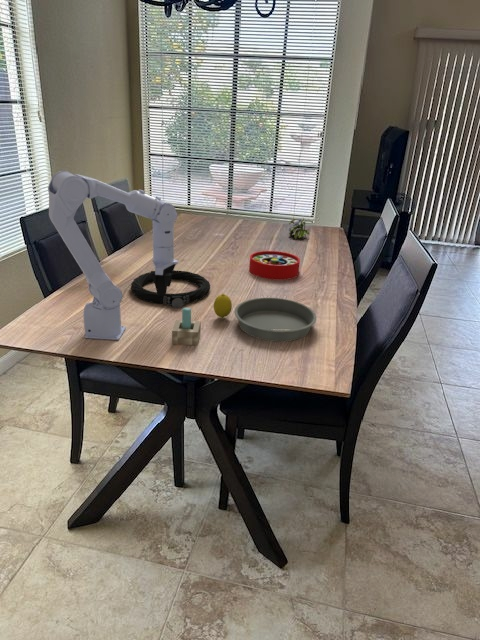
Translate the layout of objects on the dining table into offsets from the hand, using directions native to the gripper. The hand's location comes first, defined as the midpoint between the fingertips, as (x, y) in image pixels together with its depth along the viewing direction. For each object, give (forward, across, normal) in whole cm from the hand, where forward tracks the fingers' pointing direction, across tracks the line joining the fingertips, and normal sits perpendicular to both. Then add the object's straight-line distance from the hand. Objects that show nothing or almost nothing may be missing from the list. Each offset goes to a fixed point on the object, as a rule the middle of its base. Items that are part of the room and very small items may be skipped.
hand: (164, 290), depth 134 cm
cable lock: (+10, +25, +2) cm, 27 cm away
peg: (+10, -10, -8) cm, 17 cm away
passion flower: (+10, +113, -50) cm, 124 cm away
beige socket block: (+10, -10, -8) cm, 17 cm away
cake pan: (+10, +2, -33) cm, 35 cm away
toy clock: (+10, +54, -35) cm, 65 cm away
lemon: (+10, +5, -17) cm, 20 cm away
